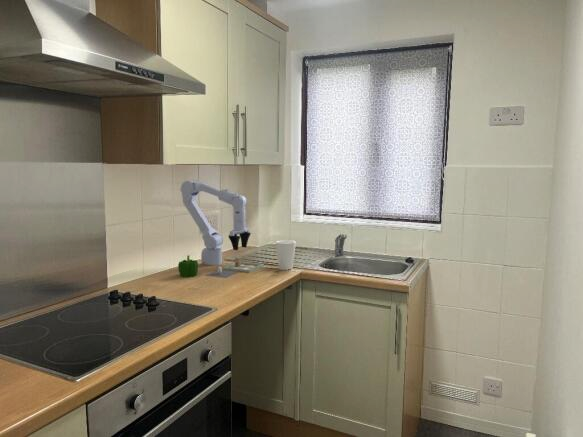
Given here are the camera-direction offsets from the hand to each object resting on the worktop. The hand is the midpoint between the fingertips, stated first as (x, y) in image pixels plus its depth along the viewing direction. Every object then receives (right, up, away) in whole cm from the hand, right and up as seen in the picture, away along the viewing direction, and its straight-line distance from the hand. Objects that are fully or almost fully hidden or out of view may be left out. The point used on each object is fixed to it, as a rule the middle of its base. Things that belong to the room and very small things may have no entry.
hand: (239, 248), depth 215 cm
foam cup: (+22, -10, -1) cm, 24 cm away
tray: (+3, -10, -5) cm, 12 cm away
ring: (+2, -9, -5) cm, 11 cm away
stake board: (-6, -12, -17) cm, 21 cm away
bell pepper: (-20, -12, -19) cm, 30 cm away
